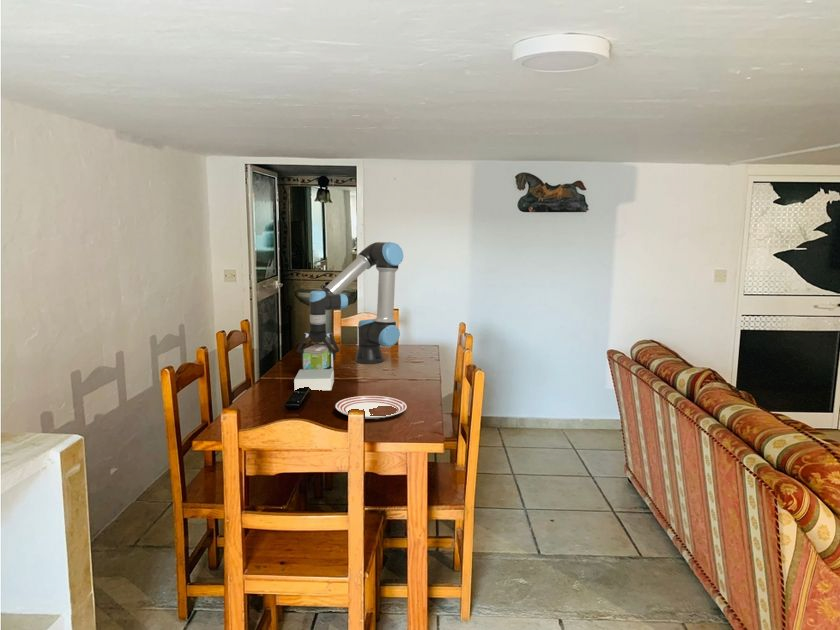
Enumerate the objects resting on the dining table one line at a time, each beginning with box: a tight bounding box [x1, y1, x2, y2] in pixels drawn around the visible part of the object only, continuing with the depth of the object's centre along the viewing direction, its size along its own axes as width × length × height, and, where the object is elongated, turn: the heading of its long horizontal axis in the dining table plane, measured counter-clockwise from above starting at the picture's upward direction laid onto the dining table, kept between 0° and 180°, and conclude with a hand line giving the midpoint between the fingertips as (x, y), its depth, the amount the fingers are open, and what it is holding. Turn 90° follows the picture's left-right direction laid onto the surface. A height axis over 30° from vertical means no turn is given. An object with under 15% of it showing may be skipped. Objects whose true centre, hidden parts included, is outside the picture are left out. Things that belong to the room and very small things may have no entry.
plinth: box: [293, 368, 335, 392], centre depth 260 cm, size 16×16×6 cm
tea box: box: [302, 343, 334, 370], centre depth 277 cm, size 15×10×15 cm, turn 168°
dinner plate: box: [334, 395, 408, 420], centre depth 221 cm, size 28×27×3 cm
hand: (318, 366), depth 277 cm, fingers open, 13 cm apart
